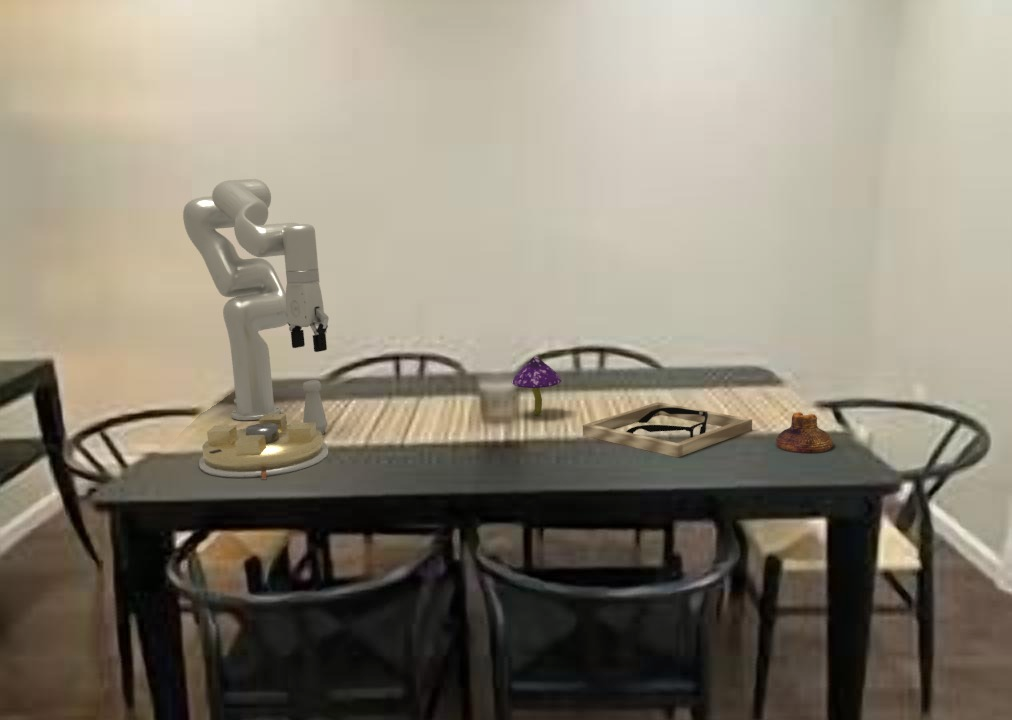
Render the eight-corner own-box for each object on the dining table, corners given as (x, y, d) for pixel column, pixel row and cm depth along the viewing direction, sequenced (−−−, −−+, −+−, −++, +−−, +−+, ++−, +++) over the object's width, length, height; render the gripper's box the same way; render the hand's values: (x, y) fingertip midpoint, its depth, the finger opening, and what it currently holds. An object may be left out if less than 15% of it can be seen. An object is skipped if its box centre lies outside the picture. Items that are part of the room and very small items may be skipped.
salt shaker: (322, 436, 240) (318, 383, 238) (300, 436, 242) (295, 383, 239) (331, 430, 246) (327, 378, 243) (309, 430, 247) (305, 378, 245)
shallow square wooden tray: (582, 435, 231) (582, 425, 231) (658, 411, 249) (657, 402, 248) (678, 457, 211) (677, 446, 211) (752, 429, 229) (752, 419, 229)
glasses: (695, 451, 219) (696, 429, 218) (617, 441, 227) (618, 419, 226) (713, 431, 234) (714, 410, 233) (640, 422, 241) (640, 402, 240)
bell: (764, 443, 219) (764, 411, 218) (810, 436, 223) (811, 404, 222) (797, 457, 208) (798, 423, 207) (845, 449, 212) (846, 416, 211)
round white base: (177, 461, 226) (177, 456, 225) (287, 434, 244) (286, 429, 244) (238, 486, 205) (237, 481, 205) (352, 455, 224) (352, 450, 223)
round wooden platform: (186, 472, 212) (183, 445, 211) (225, 439, 238) (222, 414, 237) (308, 469, 211) (306, 441, 210) (334, 435, 237) (331, 410, 235)
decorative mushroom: (502, 416, 252) (500, 357, 249) (540, 406, 260) (537, 349, 257) (535, 424, 242) (533, 363, 239) (573, 414, 250) (571, 355, 247)
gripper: (269, 277, 240) (276, 348, 243) (308, 281, 227) (315, 355, 231) (297, 274, 245) (303, 343, 248) (336, 277, 232) (343, 350, 236)
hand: (309, 349), depth 239 cm, fingers open, 9 cm apart
